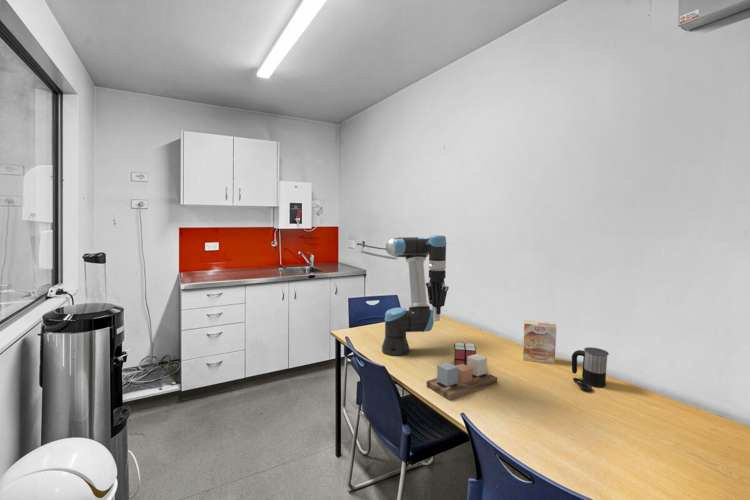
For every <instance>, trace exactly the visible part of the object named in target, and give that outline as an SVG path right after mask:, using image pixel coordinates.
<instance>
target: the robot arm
mask: <svg viewBox="0 0 750 500" xmlns="http://www.w3.org/2000/svg"><path fill="white" fill-rule="evenodd" d="M385 252H386V253H387V254H388V255H390V256H392V257H396V258H404V259H405V262H406V263H407V264H408V270H409V271H408V272H409V273H408V274H409V275H408V276H409V288H410V303H411V305H409V307H408V310H407V308H405V307H393V308H389V309H387V311H386V312H385V313H384V315H385V316H384V340H383V342H382V344H381V345H382V346H381V352H382V353H383V354H385V355H386V356H387V355H388V356H400V357H401V356H404V355H407V354H409V352H410V346H409V342H408V340H407V333H425V332H430V331H431V330H432V329H433V326H434V322H439V321H440V320H441V308H442V307H444V306H445V305H446V304H445V303H446V298H447V294H448V290H449V288H450V287H449V286H447V285H446V284H445V283H446V282H445V279H446V273H447V272H446V268H447V265H446V264H447V261H446V260H447V259H446V258H447V237H446V236H445V235H443V234H442V235H440V234H439V235H438V234H436V235H435V234H433V235H430V236H429V237H428V238H424V237H420V236H414V237H413V236H411V237H409V236H408V237H404V236H403V237H395V238H391V239H390V240H388V241H387V242H386V246H385ZM427 257H428V278H429V282H426V279H425V278H426V277H425V266H424V265H425V261H426V260H427ZM426 289H427V290H426ZM426 291H427V292H426ZM427 295H428V303H429V305H428V303H427ZM430 305H431V307H432V309H431V307H430Z"/></svg>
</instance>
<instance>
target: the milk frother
mask: <svg viewBox="0 0 750 500" xmlns="http://www.w3.org/2000/svg"><path fill="white" fill-rule="evenodd" d="M609 355H610V353H609V352H608V351H607V350H604V349H602V348H598V347H590V346H589V347H585V348H583V350H580V349H579V350H575V351H574V352H573V353H572V355H571V372H572V374H577V372H578V357H579V356H582V357H583V359H582V374H581V377H582V378H577V377H573V378H572V381H573V382H574V383H575V384H576V385H577V386H578V387H580V388H581V389H583V390H584V391H588V392H591V391H592V390H593V387H594V388H604V387H606V386H607V384H606V381H607V379H606V377H607V367H608V366H607V364H608V356H609Z"/></svg>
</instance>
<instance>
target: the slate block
mask: <svg viewBox="0 0 750 500" xmlns="http://www.w3.org/2000/svg"><path fill="white" fill-rule="evenodd" d="M436 372H437V373H436V374H437V376H436V378H437V381H438V382H440V383H442V384H443V385H445V386H444V387H451V386H450V385H453V384H456V383H458V367H457V366H455V365H454V363H453V364H452V363H450V362H448V361H447V362H443V363H441V364H437V369H436Z"/></svg>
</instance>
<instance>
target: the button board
mask: <svg viewBox="0 0 750 500" xmlns="http://www.w3.org/2000/svg"><path fill="white" fill-rule="evenodd" d="M474 376H475V375H473V376H472V381H471V382H468V383H465V384H461V383H459V382H458V383H456V384H453V385H450V386H449V387H450V388H445V387H446V386H445V385H443V384H442V383H440V382H438V381H437V377H435V378H433V379H429V380H426V387H427V388H428V389H429V390H432V391H433V392H434V393H436V394H438V395H440V396H441V397H443V398H444V399H446V400H449V401H452V400H454V399H457V398H459V397H462V396H465V395H468V394H470V393H474V392H476V391H478V390H481V389H484V388H486V387H489V386H492V385H495V384H498V376H495V375H493V374H491V373H488V372H486V374H483V375H480V376H478V378H476V377H474Z"/></svg>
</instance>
